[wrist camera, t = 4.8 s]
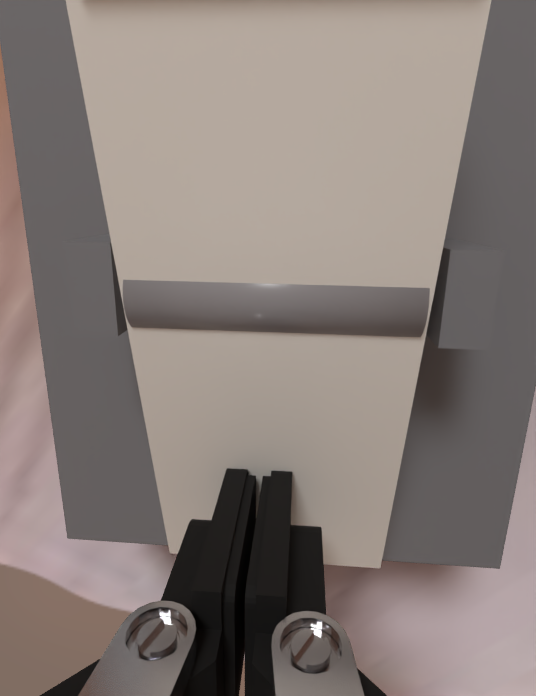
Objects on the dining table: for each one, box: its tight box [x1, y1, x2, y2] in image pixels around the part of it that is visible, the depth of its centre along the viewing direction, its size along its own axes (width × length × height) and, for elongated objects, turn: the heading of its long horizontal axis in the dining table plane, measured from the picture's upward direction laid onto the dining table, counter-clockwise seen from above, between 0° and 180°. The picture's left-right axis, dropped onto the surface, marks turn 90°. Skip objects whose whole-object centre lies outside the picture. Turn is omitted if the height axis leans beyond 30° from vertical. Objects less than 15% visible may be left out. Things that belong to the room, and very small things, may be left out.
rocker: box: [66, 0, 491, 568], centre depth 10 cm, size 16×6×2 cm, turn 0°
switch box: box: [0, 0, 536, 569], centre depth 14 cm, size 18×14×9 cm
